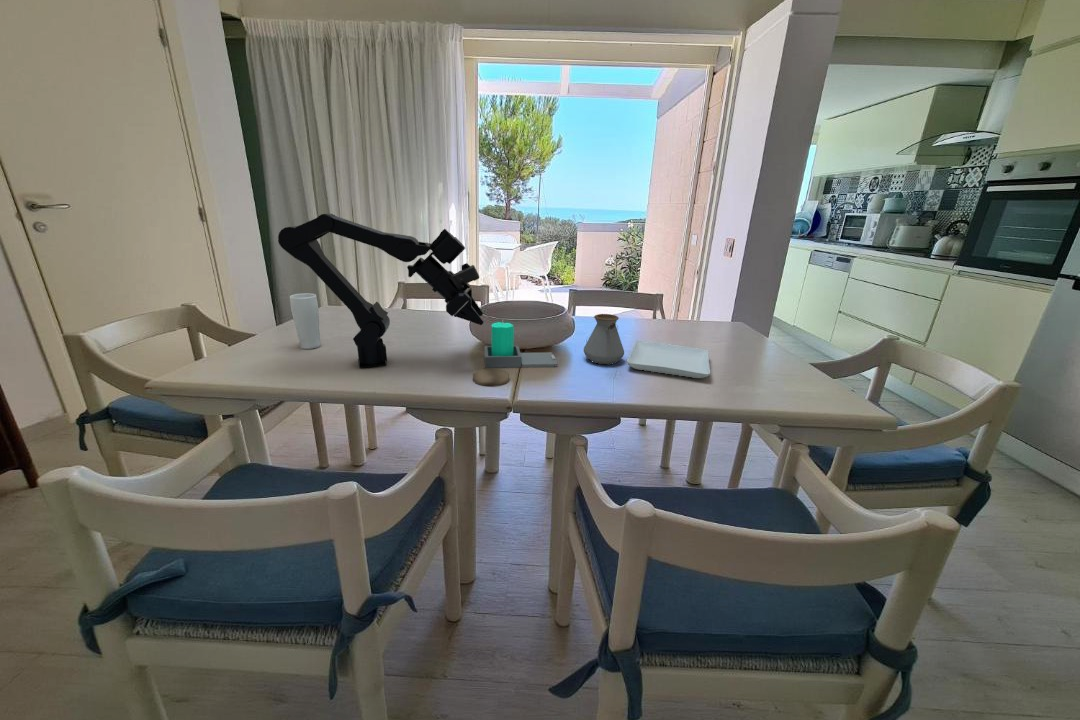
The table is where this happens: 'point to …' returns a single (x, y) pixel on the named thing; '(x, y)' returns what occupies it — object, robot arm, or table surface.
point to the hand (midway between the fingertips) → (482, 319)
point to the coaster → (490, 377)
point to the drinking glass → (306, 319)
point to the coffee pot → (604, 341)
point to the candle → (502, 339)
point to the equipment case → (519, 359)
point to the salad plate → (670, 359)
